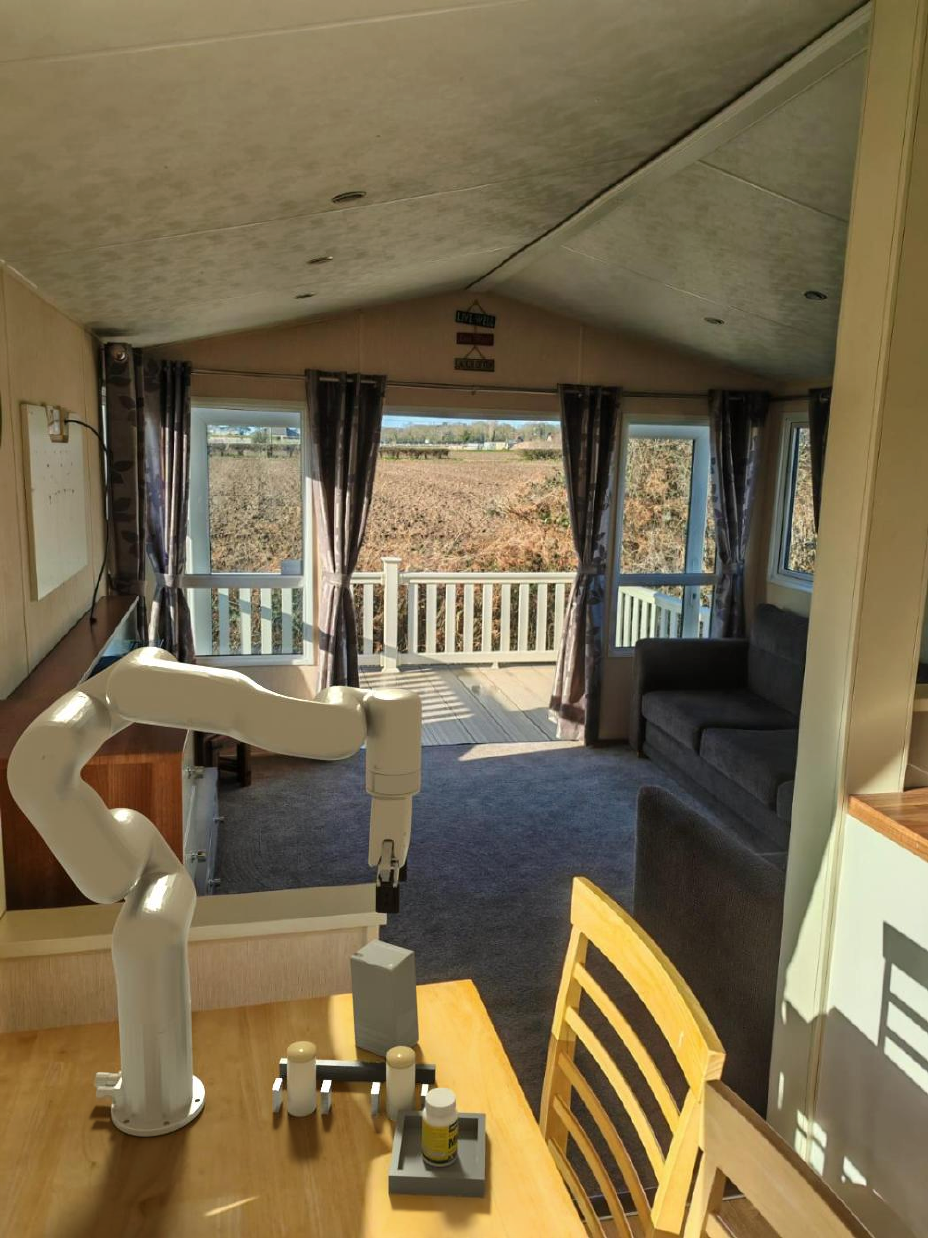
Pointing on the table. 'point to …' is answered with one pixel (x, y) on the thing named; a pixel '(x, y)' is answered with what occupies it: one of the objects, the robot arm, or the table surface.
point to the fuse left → (301, 1078)
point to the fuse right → (400, 1081)
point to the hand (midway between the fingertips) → (391, 896)
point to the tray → (429, 1180)
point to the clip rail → (354, 1080)
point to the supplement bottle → (440, 1128)
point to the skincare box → (384, 997)
